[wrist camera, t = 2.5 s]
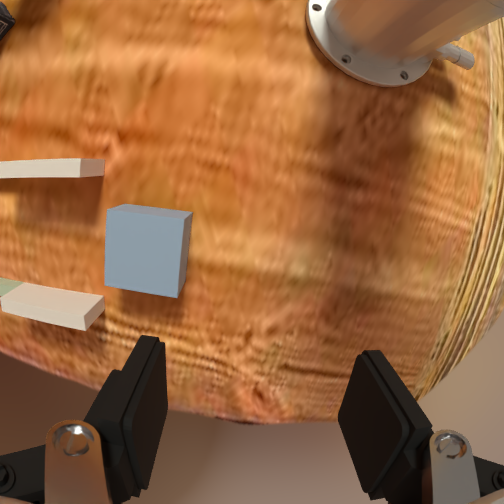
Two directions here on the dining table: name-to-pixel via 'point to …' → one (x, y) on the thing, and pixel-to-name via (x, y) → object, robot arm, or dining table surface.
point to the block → (147, 249)
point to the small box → (5, 20)
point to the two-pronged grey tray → (42, 297)
